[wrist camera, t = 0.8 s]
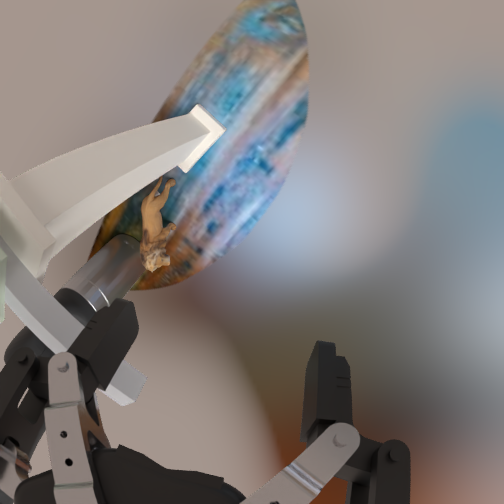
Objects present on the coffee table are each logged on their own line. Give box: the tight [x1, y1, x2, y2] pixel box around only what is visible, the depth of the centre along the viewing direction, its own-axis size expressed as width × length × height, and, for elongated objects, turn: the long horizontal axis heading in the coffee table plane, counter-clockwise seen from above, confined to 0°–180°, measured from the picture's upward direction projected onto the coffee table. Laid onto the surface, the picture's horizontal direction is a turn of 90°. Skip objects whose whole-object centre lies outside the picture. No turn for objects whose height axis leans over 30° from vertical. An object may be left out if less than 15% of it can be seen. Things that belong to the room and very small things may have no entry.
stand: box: [0, 104, 227, 285], centre depth 26 cm, size 9×6×32 cm, turn 136°
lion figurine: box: [139, 176, 176, 272], centre depth 43 cm, size 15×5×9 cm, turn 2°
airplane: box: [0, 236, 147, 406], centre depth 10 cm, size 8×14×7 cm, turn 46°
